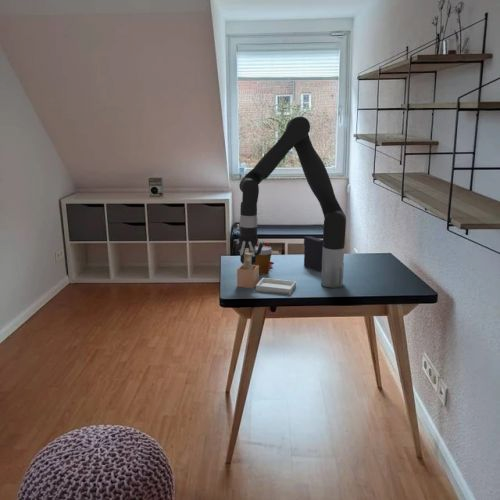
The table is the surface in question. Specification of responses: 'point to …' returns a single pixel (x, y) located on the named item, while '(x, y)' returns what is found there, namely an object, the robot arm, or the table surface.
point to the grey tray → (276, 286)
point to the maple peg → (248, 261)
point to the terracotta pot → (247, 277)
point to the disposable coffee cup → (263, 259)
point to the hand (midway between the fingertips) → (248, 263)
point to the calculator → (313, 253)
